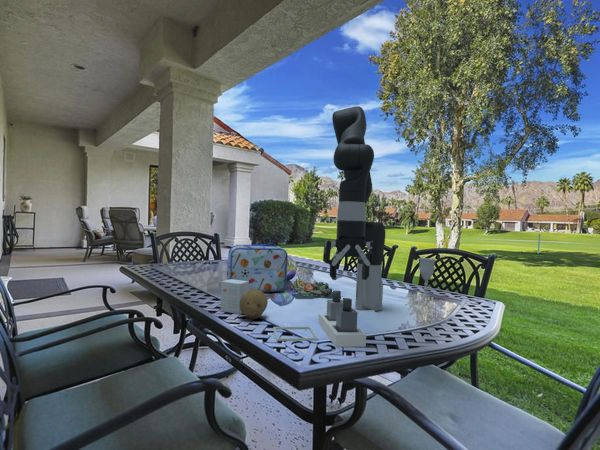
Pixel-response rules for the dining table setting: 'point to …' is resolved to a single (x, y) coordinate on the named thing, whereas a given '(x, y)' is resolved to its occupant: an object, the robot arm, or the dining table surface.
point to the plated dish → (311, 290)
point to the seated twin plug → (334, 306)
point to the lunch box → (258, 266)
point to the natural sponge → (253, 303)
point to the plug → (346, 317)
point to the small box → (232, 295)
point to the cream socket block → (342, 334)
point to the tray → (295, 338)
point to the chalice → (426, 272)
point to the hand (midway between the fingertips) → (349, 279)
